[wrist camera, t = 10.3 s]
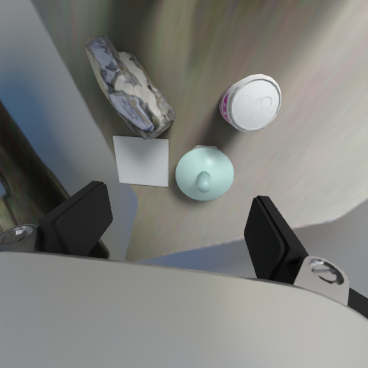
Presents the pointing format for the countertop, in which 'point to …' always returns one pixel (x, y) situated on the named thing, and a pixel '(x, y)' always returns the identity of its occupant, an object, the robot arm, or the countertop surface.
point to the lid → (204, 173)
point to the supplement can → (251, 103)
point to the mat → (142, 160)
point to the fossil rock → (129, 88)
